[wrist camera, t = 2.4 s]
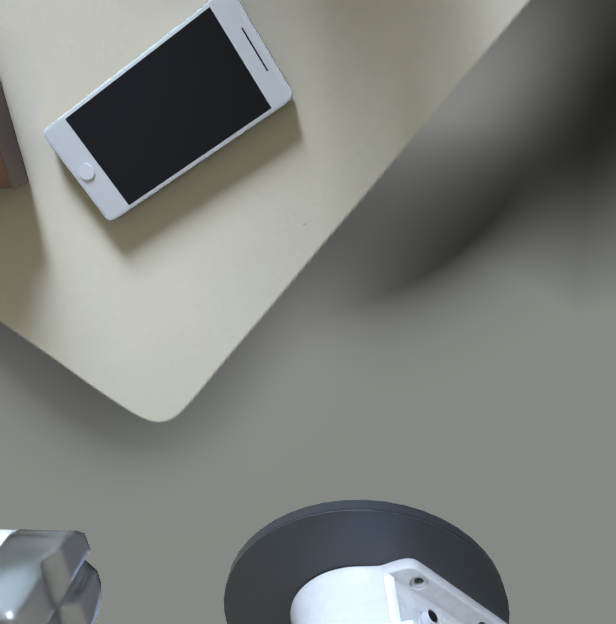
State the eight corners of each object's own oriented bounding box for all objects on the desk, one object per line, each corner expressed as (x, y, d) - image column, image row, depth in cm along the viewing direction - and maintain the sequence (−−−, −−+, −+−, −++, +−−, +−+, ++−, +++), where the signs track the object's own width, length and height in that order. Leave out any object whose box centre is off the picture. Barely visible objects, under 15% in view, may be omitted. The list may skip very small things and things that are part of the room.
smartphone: (46, 131, 37) (39, 132, 36) (231, -12, 33) (228, -15, 32) (114, 220, 39) (109, 223, 38) (296, 97, 35) (294, 98, 34)
